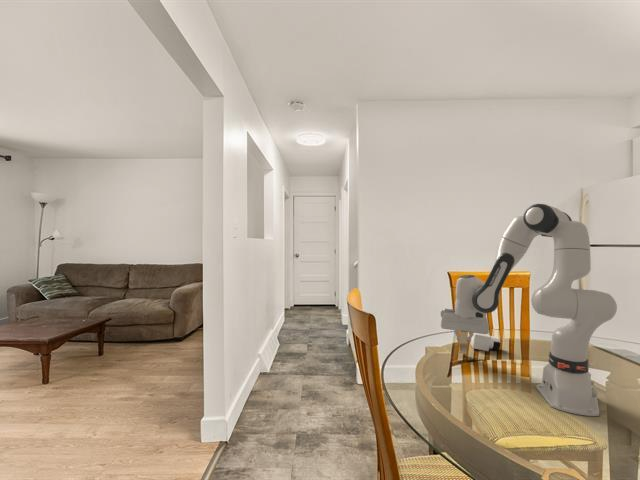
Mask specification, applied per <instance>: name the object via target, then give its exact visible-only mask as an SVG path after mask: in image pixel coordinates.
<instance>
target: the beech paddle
mask: <svg viewBox="0 0 640 480" xmlns="http://www.w3.org/2000/svg"><path fill="white" fill-rule="evenodd" d="M468 333H469V332H465V331H459V336H460V340H459V354H461V355H467V353H468V341H467V337H469V335H468Z"/></svg>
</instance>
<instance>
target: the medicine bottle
mask: <svg viewBox="0 0 640 480" xmlns="http://www.w3.org/2000/svg"><path fill="white" fill-rule="evenodd" d="M470 344H471V347H472V348H473V349H475V350H480V351H484V352H489V351H490V350H493V351H494V350H495V351H498V350H500V348H501V339H500V337H498V336H493V335H490V333H488V334H479V333H474V335H473V336H472V338H471V342H470Z"/></svg>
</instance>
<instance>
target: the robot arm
mask: <svg viewBox="0 0 640 480" xmlns="http://www.w3.org/2000/svg"><path fill="white" fill-rule="evenodd" d="M540 235H541V236H542V237H547V238H552V240H553V268H552V273H551V274H550V277H548V280H547V281H546V282H545V283H544V284H543V285H542V286H540V287H538V288H537V289H535V291H534V292H533V293H532V295H531V300H530V302H531V306H532V308H533V310H534V312H535V313H537V315H538V314H539V315H541V316H545V317H549V318H556V319H567V320H570V321H569V323H567V324H566V325H564V326H563V325H562V326H560V327H558V328H556V329H555V330H553V332H552V334H551V345H550V351H549V354H548V364H546V365H544V366H543V370H542V376H541V377H542V378H541V383H537V384H536V386H535V387H536V389H537V391H538V392H539V393H540V394H541V396H542V397H543V398H544V399H545V402H547V403H548V405H549V406H550V407H551V408H554V409H555V410H559V411H562V412H566V413H570V414H575V415H581V416H587V417H598V416H600V408H599V402H598V389H597V388H593V387H592V386H594V385H595V381H594V380H592V374H591V373H590V372H589V367H590V365H589V359H588V353H589V347H590V340H591V338H592V336H593V334H594V333H595V331H596V330H597V329H598V328H599V327H600V326H601V325H603V324H605V323H606V322H608V321H611V320H612V319H613V318H614V317H615V316H616V314H617V311H618V310H617V309H618V307H617V306H618V305H617V303H616V300H615V298H614V297H613V296H612V295H611V294H610V293H607V292H604V291H598V290H594V289H584V288H583V289H582V288H581V289H580V288H572V286H573V285H572V284H573V282H575V281H578V280H579V279H582V278H584V277H586V276H587V275H589V274H590V272H591V242H590V236H589V232H588V228H587V226H586V225H585V224H584V223H583V222H580V221H576V220H572V218H571V216H570V215H569V214H568V213H566V212H564V211H562V210H560V209H558V208H556V207H554V206H552V205H548V204H546V203H534V204H532V205H529V206H527V208H526V209H525V211H524V213H523V215H519V216H518V215H517V216H515V217H514V218H513V219H512V220H510V223H509V224H508V226H507V227H506V228H505V229H504V232H503V233H502V236H501V237H500V239H499V242H498V244H497V247H496V250H495V251H496V252H495V257H494V262H493V265H492V268H491V270H490V272H489V274H488V276H487V278H486V281H484V280H481V279H480V278H478V277H477V276H476V275H473V274H465V275H461V276H459V277H458V279H456V283H455V301H454V309H452V308H444V309H442V310H441V311H440V317H441V322H440V328H441V329H442V330H450V331H454V334H455V336H456V341H460V334H458V333H459V332H460V331H465V332H468V333H469V335H468V336H467V343H468V342H469V343H471V340H472V336H473V335H474V333H479V334H488V333H489V332H490V331H489V329H490V327H489V321H488V318H487V314H490V313H492V312H495V311H496V309H497V308H498V306H499V303H500V302H499V301H500V296H501V293H500V292H501V290H502V288H503V286H504V284H505V281H506V280H507V277H508V276H509V274H510V273H511V271H512V270H513V268H515V266H516V265H517V264H518V263H519V262H520V261H521V260H522V258H523V257H524V256H525V254H526V253H527V251H528V250H529V248H530V246H531V244H532V242H533V240H534V239H535V238H536V237H538V236H540ZM489 334H490V333H489Z"/></svg>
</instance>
